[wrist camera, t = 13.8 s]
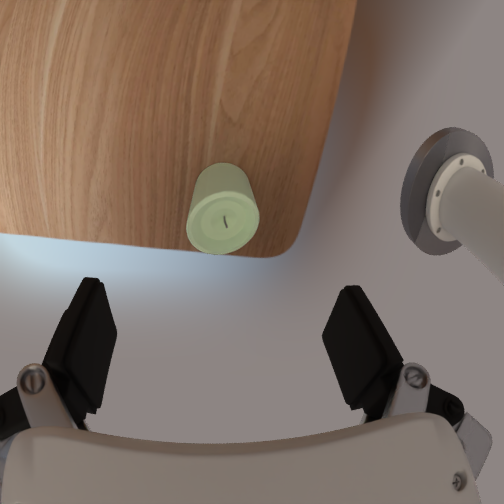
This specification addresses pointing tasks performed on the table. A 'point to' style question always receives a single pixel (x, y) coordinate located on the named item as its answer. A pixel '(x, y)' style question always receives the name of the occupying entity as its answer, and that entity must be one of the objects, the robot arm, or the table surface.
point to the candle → (222, 210)
